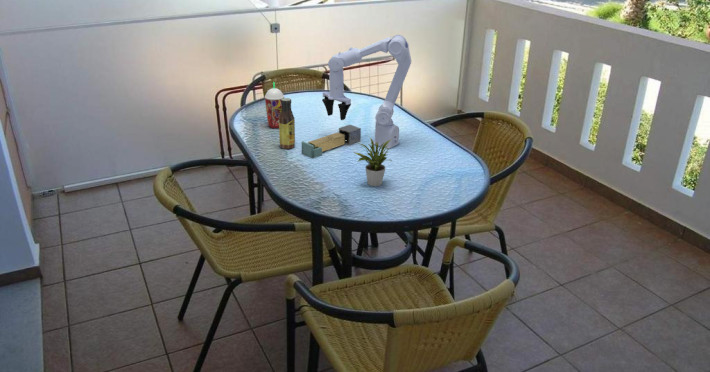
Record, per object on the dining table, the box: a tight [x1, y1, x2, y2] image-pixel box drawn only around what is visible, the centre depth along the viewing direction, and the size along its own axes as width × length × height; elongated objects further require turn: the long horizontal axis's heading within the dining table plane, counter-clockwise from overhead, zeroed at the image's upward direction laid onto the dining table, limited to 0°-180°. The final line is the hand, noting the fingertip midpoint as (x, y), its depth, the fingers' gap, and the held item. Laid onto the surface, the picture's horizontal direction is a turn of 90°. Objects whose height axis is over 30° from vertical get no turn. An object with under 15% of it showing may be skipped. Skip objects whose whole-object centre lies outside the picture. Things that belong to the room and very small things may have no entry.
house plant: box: [353, 137, 393, 187], centre depth 210 cm, size 14×14×16 cm
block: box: [307, 131, 345, 153], centre depth 239 cm, size 16×4×4 cm, turn 135°
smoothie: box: [264, 81, 285, 129], centre depth 259 cm, size 8×8×20 cm
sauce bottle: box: [278, 97, 296, 150], centre depth 238 cm, size 7×6×20 cm
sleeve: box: [338, 124, 362, 146], centre depth 247 cm, size 6×6×6 cm
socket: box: [301, 141, 323, 159], centre depth 234 cm, size 5×7×5 cm
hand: (336, 117), depth 246 cm, fingers open, 7 cm apart
